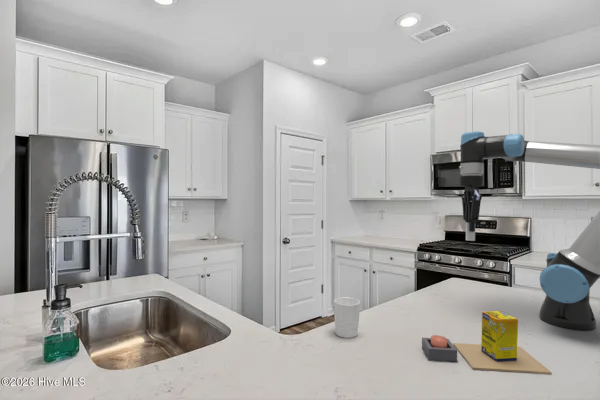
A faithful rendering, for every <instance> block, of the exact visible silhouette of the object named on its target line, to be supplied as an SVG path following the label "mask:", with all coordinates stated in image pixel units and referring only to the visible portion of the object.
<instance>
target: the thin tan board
mask: <svg viewBox="0 0 600 400" xmlns="http://www.w3.org/2000/svg"><path fill="white" fill-rule="evenodd" d="M452 344H453V346H454V347H455V348H456V349H457V353H458V354H460V355H461V357H462V358H463V359H464V361H465V362H466V363H467V364H468V365H469V367H470V368H471V369H472V370H475V371H487V372H489V371H491V372H492V371H493V372H507V373H523V374H538V375H539V374H540V375H552V371H551V370H549V368H547V367H546V366H544V365H543V364H542V363H541V362H539V360H537V359H536V358H535V357H533V355H531V354H530V353H529V352H528V351H526V350H525V349H523V348H522V347H521V346H517V361H502V362H496V361H495V360H493V359H492V358H491V357H489V356H488V355H487V354H485V353H483V352H482V351H481V344H479V343H478V344H475V343H462V342H461V343H460V342H459V343H458V342H453V343H452Z"/></svg>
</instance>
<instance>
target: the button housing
mask: <svg viewBox="0 0 600 400" xmlns="http://www.w3.org/2000/svg"><path fill="white" fill-rule="evenodd" d="M421 350H422V352H423V353H424V354H425V357H426V358H427V360H428V361H436V362H450V363H457V362H458V350H457V349H456V348H455V347H454V345H453V343H452V341H451V340H450V339H448V338H447V348H436V347H431V337H421Z"/></svg>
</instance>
